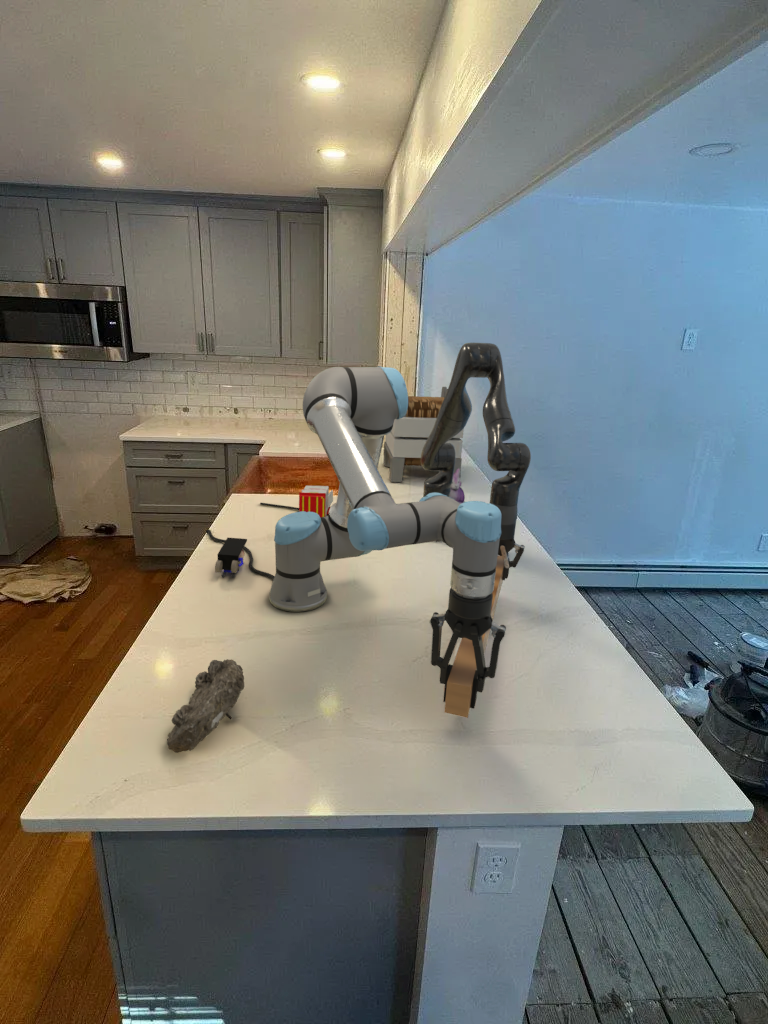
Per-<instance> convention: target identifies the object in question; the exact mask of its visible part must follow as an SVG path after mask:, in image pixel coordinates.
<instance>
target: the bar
mask: <svg viewBox="0 0 768 1024" xmlns="http://www.w3.org/2000/svg"><path fill="white" fill-rule="evenodd" d="M503 569H504V561H503V558H502V556H499V555H498V556H497V564H496V574H495V582H494V590H493V592H492V594H493V598H492V607H491V617H492V620H493V621H494V618H495V613H496V609H497V605H498V601H499V598H500V593H501V589H502V586H503V581H504V580H502V577H503ZM490 633H491V629H489V630H488V631H487V632H486V633H484V634H483V635H482V642H483V649H484V653H485V652H486V648H487V645H488V640H489V636H490ZM460 639H461V640H460V643H459V646H458V649H457V652H456V655H455V657H454V660H453V663H452V665H453V666H452V669H451V672H450V675H449V678H448V681H447V689H446V700H445V702H444V713H445V714H449V715H454V716H457V717H462V718H466V719H467V718H469V714H470V711H471V708H470V705H471V696H472V687H473V678H474V674H475V671H476V670H477V667H476V660H475V653H474V646H473V644H472V640H469V639H467V638H460Z"/></svg>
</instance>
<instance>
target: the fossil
mask: <svg viewBox="0 0 768 1024" xmlns="http://www.w3.org/2000/svg"><path fill="white" fill-rule="evenodd" d="M243 670H244V669H243V667H242V665H240V664H237V662H236V661H235V660H234V659H232V658H231V659H227V658H226V659H224V660H223V661H222V660H217V659H212V660H211V661H210V663H209V665H208V666H207V671H201V672H199V673H198V674H197V675H196V676H195V680H194V684H195V685H194V687H195V689H194V690H193V693H192V694H191V697H190V698H189V700H188V704H184V705H182V706H181V707H180V709H177V710H176V711H175V713H174V715H173V716H172V718H171V723H172V724H173V727H172V730H171V731H170V732H168V734H167V738H166V741H167V742H166V745H167V749H168V750H169V751H173V752H174V753H176V754H178V753H182V752H188V751H189V752H192V751H193V750H195V748H196V747H197V746H199V744H200V743H201V742H203V741H204V740H205V739H206V738H207V737H208V736H209V735H210V734H211V733H212V732H214V730H215V729H217V727H218V726H219V724H220V722H221V721H222V720H223V719H224V718H225V716H226V717H227V719H229V720H233V717H232V715H230V714H229V710H230V709H231V708H234V706H235V704H236V703H237V702H238V699H239V697H240V695H241V693H242V691H243V690H245V689H244V688H245V675H244V671H243Z"/></svg>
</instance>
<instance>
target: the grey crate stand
mask: <svg viewBox="0 0 768 1024" xmlns="http://www.w3.org/2000/svg"><path fill="white" fill-rule="evenodd" d="M447 390H448V388H447V386H442V387H441V392H440V393H441V394H440V396H415V395H414V396H413V395H412V396H411V395H408V409H407V412H406V415H405V416H404V417H403V418H400V419H395V420H394V423H393V428H392V431H391V432H390V433H388V434H386V435H385V437H384V441H383V466H384V467H388V468H389V475H388V476H389V477H388V478H389V480H390V482H391V483H402V482H403V475H404V469H405V466H406V467H407V466H411V467H412V466H413V467H415V466H416V467H417V466H418V467H422V465H421V453H422V449H423V447H424V445H425V443H426V441H427V439H428V437H429V435H430V433H431V431H432V429H433V427H434V424H435V422H436V419H437V416H438V413H439V410H440V408H441V405H442V403H443V400H444V398H445V395H446V393H447ZM464 429H465V428H464ZM464 429H463V430H462V431H461V432H459V433H458V434H457V435H456V436H454V437H453V438H451V439H450V440H448V441H447V442H446V443H450V444H452V445H453V446H454V448H455V454H456V456H455V466H454V473H455V472H456V470H457V469H458V468H459V469H460V473H459V478H460V479H461V472H462V461H463V460H462V453H463V442H464V441H463V440H462V439H463V438H464V431H465V430H464Z"/></svg>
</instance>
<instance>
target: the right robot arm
mask: <svg viewBox="0 0 768 1024" xmlns="http://www.w3.org/2000/svg"><path fill="white" fill-rule="evenodd" d="M504 373H505V372H504V365H503V359H502V354H501V351H500V348H499V346H498V345H497V344H495V343H491V342H466V343H463V345H462V346H461V347H460V349H459V351H458V353H457V357H456V360H455V363H454V366H453V371H452V374H451V379H450V382H449V384H448V388H447V389H448V390H447V393H446V395H445V398H444V400H443V403H442V405H441V408H440V410H439V413H438V416H437V419H436V422H435V424H434V427H433V429H432V431H431V433H430V435H429V437H428V439H427V441H426V443H425V445H424V447H423V449H422V453H421V465H422V466H421V467H422V468H423V470H424V471H428V472H429V471H430V472H438V473H436V474H435V475H433V476H431V477H428V478H427V479H425V480H424V482H423V493H422V496H423V497H425V496H426V495H427V494H429V493H441V494H443V495H447V496H448V497H450V493H451V485H452V481H453V473H454V466H455V456H456V454H455V448H454V446H453V445H452V444H450V443H446V442H447V441H448V440H450V439H451V438H453V437H454V436H456V435H457V434H458V433H459V432H461V431H462V430H463V429H465V427H466V425H467V424H468V422H469V420H470V417H471V414H472V411H473V405H472V400H471V397H470V395H469V393H468V390H467V387H466V385H467V383H468V380H469V379H471V378H477V379H478V378H480V379H481V378H483V379H485V378H487V379H488V381H489V384H490V385H489V390H488V393H487V394H486V395H487V396H486V398H485V400H484V403H483V406H482V418H483V421H484V422H483V423H484V426H485V429H486V432H487V463H488V465H489V467H490V468H491V470H493V471H495V472H507V473H506V474H505V475H504V476H501V477H498V478H495V479H494V480H493V481H492V482H491V488H490V496H489V503H490V504H493V505H495V506H497V507H498V508H499V510H500V511H501V536H500V541H499V549H498V556H502V558H503V561H504V569H503V577H502V580H503V581H506V580H507V579H508V578H509V574H510V569H511V568H517V566H518V563H519V562H520V560H521V558H522V557H523V554H524V552H525V547H526V546H525V545H524V544H519V543H516V541H515V534H516V527H517V526H516V525H517V519H518V504H519V496H520V488H521V486H522V483H523V482H524V479H525V477H526V474H527V472H528V469H529V468H530V464H531V460H532V452H531V449H530V448H529V447H530V446H528V445H527V444H526V443H524V442H507V441H509V440H511V439H512V438H513V437H514V436H515V434H516V425H515V423H514V419H513V416H512V413H511V409H510V406H509V402H508V397H507V390H506V379H505V374H504ZM423 497H422V498H423ZM259 505H260V506H267V507H274V508H281V509H288V510H293V511H299V507H295V506H288V505H283V504H282V505H281V504H276V503H275V504H274V503H268V502H260V503H259ZM327 516H329V513H328V514H326V517H327ZM513 549H514V552H515V555H514V557H513V559H512V560H510V554H509V553H510V552H511V551H512V550H513Z"/></svg>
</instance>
